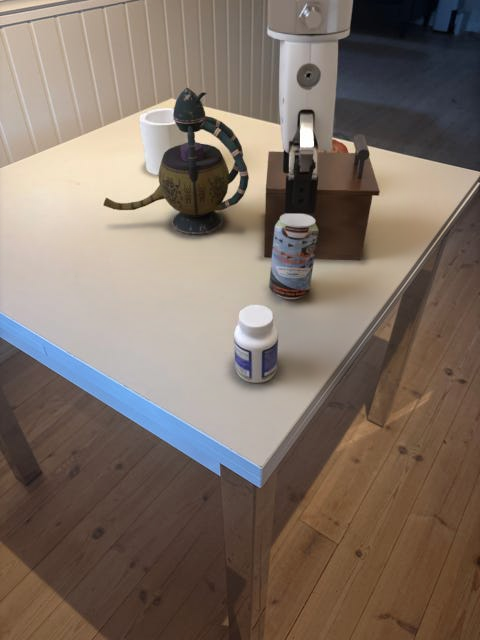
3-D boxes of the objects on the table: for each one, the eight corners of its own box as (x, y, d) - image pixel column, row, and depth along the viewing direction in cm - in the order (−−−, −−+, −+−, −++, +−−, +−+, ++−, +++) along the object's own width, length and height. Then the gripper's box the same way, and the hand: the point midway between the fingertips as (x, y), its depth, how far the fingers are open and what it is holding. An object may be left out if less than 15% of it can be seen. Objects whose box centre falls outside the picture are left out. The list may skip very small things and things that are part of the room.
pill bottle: (274, 352, 64) (276, 299, 58) (279, 382, 60) (282, 329, 54) (233, 354, 63) (232, 302, 58) (236, 385, 60) (234, 332, 54)
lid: (367, 157, 82) (372, 125, 79) (378, 195, 72) (385, 160, 68) (268, 155, 83) (269, 123, 80) (265, 193, 73) (266, 158, 69)
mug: (153, 150, 114) (147, 103, 107) (196, 150, 114) (193, 103, 107) (142, 175, 104) (134, 125, 97) (189, 176, 104) (185, 125, 97)
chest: (352, 217, 90) (362, 157, 82) (360, 260, 79) (372, 196, 72) (266, 215, 91) (268, 156, 83) (264, 257, 80) (265, 193, 73)
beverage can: (265, 302, 72) (267, 231, 64) (274, 273, 77) (277, 204, 69) (307, 308, 70) (315, 236, 62) (314, 278, 76) (322, 209, 68)
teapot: (249, 237, 85) (250, 97, 70) (104, 245, 84) (72, 104, 68) (242, 204, 94) (241, 74, 79) (112, 211, 93) (85, 79, 77)
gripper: (365, 35, 37) (339, 231, 48) (341, -1, 50) (324, 160, 61) (266, 36, 38) (263, 230, 49) (268, 0, 51) (265, 159, 62)
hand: (297, 191), depth 55 cm, fingers open, 9 cm apart
